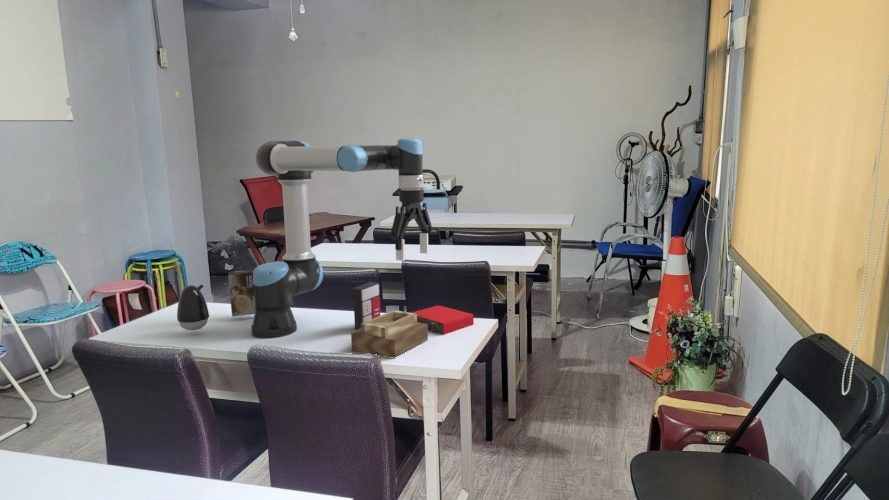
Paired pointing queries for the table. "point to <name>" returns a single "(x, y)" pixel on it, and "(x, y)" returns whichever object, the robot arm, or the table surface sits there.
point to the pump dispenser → (192, 308)
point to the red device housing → (444, 319)
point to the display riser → (389, 334)
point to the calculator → (366, 303)
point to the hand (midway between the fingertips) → (412, 256)
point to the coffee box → (241, 292)
